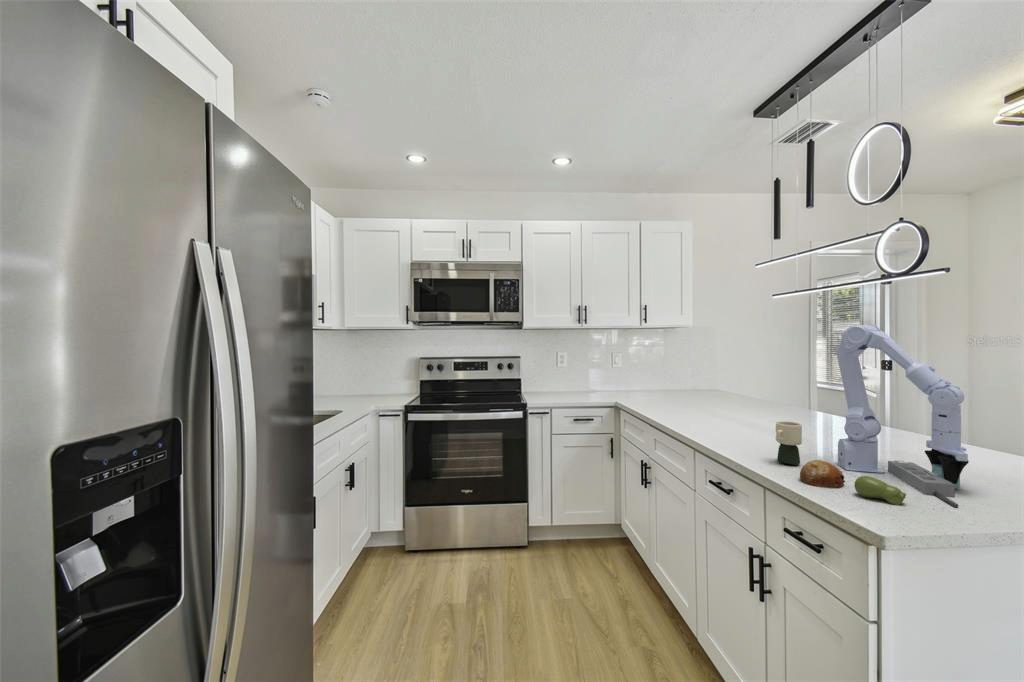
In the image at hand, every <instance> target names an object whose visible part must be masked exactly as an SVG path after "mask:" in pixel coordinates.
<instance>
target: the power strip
mask: <svg viewBox="0 0 1024 682" xmlns="http://www.w3.org/2000/svg"><path fill="white" fill-rule="evenodd" d="M926 471H927V472H931V471H930V470H928V469H926V468H924V467H922V466H920V465H918V464H917V463H914V462H909V461H904V460H900V459H898V460H897V459H895V460H887V472H888V473H890V474H891V475H893V476H895V478H898V479H899V480H900V481H902V482H904V483H905V484H907V485H908V486H911V487H912V488H913V489H916V490H917V491H919V492H920V493H922V494H923V495H926V496H935V497H937V498H938V499H941V500H942V501H944V502H945V503H947V504H949V505H951V506H952V507H954V508H959V504H958V503H957V502H955V501H954V500H952V499H950V498H955V496H956V495H955V493H956V492H955V491H956V488H955V484H953V483H951V482H949V481H947V480H945V479H943V478H941V477H939V476H931V475H930V474H928V473H926ZM949 497H950V498H949Z"/></svg>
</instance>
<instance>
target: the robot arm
mask: <svg viewBox="0 0 1024 682" xmlns="http://www.w3.org/2000/svg"><path fill="white" fill-rule="evenodd" d="M867 349H875V350H878V351H879V350H880V351H881V352H883V354H885V355H886V356H888V357H889V358H890V359H891V360H893V362H895V363H897V364H898V365H899V366H900V367H901V368H903V369H904V371H905V377H906V378H907V379H908V380H909V381H910V382H911V383H912V384H914V385H915V387H916V388H918V389H919V391H921V392H922V393H923V394H924V395H927V400H928V402H929V404H930V405H931V409H932V410H931V432H930V433H931V436H930V437H931V438H930V439H929V440H926V444H925V446H926V448H928V449H930V450H927V449H926V450H924V454H925V455H926V456H927V458H928V460H929V462H930V466H932V464H938V465H942V468H943V473H944V479H945V480H947V481H949V482H951V483H953V484H957V482H958V479H959V476H960V477H961V474H962V471H963V470H964V469H965V467H966V466H967V465H968V464H969V462H970V461H969V459H968V458H969V456H968V455H969V453H967V448H966V447H963V446H962V414H961V413H962V408H961V404H962V403H963V402H964V400H965V394H964V392H963V391H962V390H961V388H960V387H958V386H956V385H953V384H952V382H951V381H950V380H946V379H945V378H943V377H942V376H941V375H940V374H939V373H937V372H936V371H935V370H937V369H936V367H935V366H933V365H928V364H927V363H920V362H918V361H916V360H915V359H914V358H913V357H912V356H911V355H910V354H909V353H907V352H906V351H905V350H904V349H903V347H901V346H900V345H899V344H898V343H897V342H896V341H894V339H893V338H891V337H890V336H889V334H887V333H886V332H885V331H883V330H881V329H880V327H878V326H877V325H874V324H863V325H862V324H853V325H850V326H849V327H847V328H846V329H845V330H844V331H843V332H842V333H841V340H840V342H839V344H838V347H837V350H836V357H837V362H838V367H839V373H840V376H841V382H842V386H843V390H844V394H845V401H846V404H847V412H846V413H845V424H844V428H843V429H844V432H845V435H847V437H846V438H840V439H838V441H837V461H836V464H837V465H839V466H840V467H842V468H843V469H844V470H846V471H851V472H853V471H854V472H856V471H857V472H867V473H878V474H879V473H880V474H883V473H885V471H884V470H883V469H880V468H879V467H878V466H879V465H878V464H879V458H878V457H879V456H878V455H879V450H878V449H879V442H878V441H879V439H878V435H879V434H880V433H881V432H882V425H881V423H880V421H879V420H878V419H877V417H876V414H875V412H874V410H873V409H872V408H871V407H870V404H869V399H868V395H867V389H866V385H865V382H864V381H865V380H864V377H863V372H862V367H861V363H860V359H859V357H860V356H861V355H862V354H863V353H864V352H865V351H866V350H867Z"/></svg>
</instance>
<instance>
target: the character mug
mask: <svg viewBox="0 0 1024 682" xmlns="http://www.w3.org/2000/svg"><path fill="white" fill-rule="evenodd" d="M802 425H803V424H802V423H801V422H800V423H799V422H794V421H787V420H785V421H776V422H775V435H776V436H775V442H777V443H779V445H778V451H777V457H776V458H777V459H776V461H777V462H778V463H783V464H784V465H787V464H788V465H795V466H797V465H798V466H799V465H800V464H801V456H800V452H799V451H800V450H799V446H800V445H802V443H803V442H802V441H803V437H802V436H803V435H802V433H803V430H802V429H803V427H802Z"/></svg>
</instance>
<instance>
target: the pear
mask: <svg viewBox="0 0 1024 682" xmlns="http://www.w3.org/2000/svg"><path fill="white" fill-rule="evenodd" d="M854 489H855V491H856V492H857V494H858V495H860V496H862V497H863V498H868V499H873V498H874V499H876V498H877V499H879V498H880V499H884V500H886V502H888V503H889V504H891V505H894V506H899V505H901V504H902V503H903V502H904V500H905V499H906V496H907V493H905V492H903V491H901V489H900V488H898V487H896V486H893V485H890V484H888V483H886V482H885V481H882V480H880V479H878V478H877V477H876V478H875V477H872V476H870V475H869V476H868V475H861V476H859V477H857V478H856V479H855V481H854Z"/></svg>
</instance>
